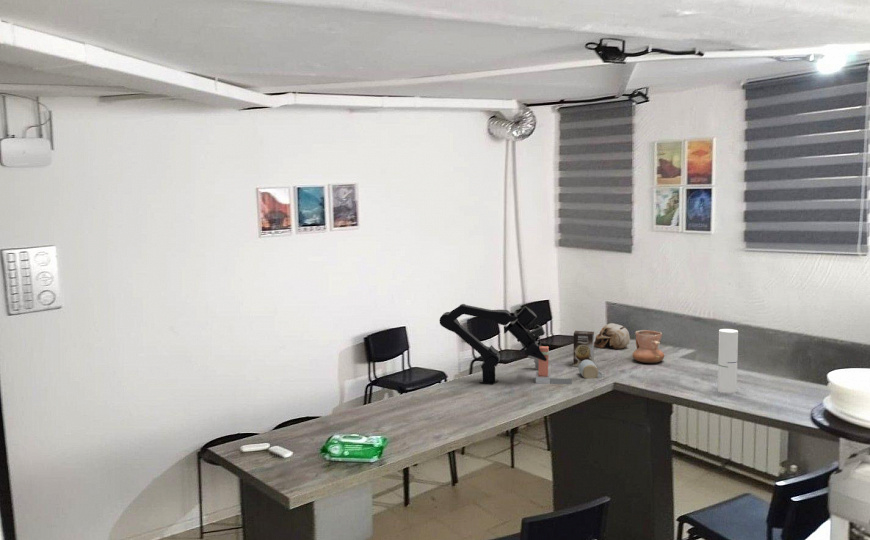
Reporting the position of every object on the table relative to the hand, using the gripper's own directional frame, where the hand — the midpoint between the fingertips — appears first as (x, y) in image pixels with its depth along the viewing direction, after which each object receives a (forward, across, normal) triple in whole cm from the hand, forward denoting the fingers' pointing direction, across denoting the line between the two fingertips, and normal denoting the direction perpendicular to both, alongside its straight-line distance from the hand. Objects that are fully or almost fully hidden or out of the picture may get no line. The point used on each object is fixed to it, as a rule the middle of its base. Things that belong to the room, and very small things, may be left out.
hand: (546, 358), depth 305 cm
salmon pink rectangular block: (+4, 0, +6) cm, 7 cm away
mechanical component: (+4, +19, +12) cm, 22 cm away
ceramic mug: (+22, +11, -6) cm, 25 cm away
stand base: (+10, 0, +6) cm, 11 cm away
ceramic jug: (+40, +43, -25) cm, 64 cm away
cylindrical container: (+59, -3, -44) cm, 74 cm away
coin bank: (+29, +71, -13) cm, 78 cm away
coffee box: (+19, +32, -3) cm, 37 cm away
